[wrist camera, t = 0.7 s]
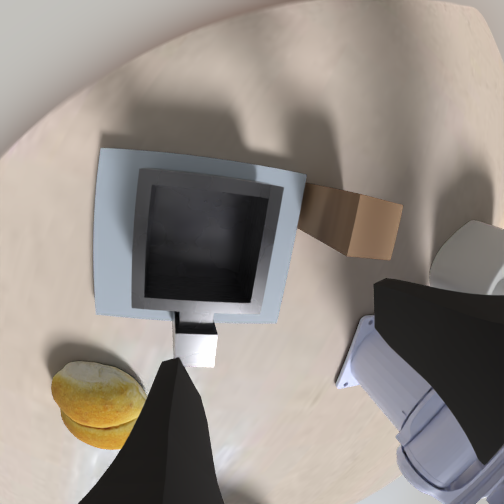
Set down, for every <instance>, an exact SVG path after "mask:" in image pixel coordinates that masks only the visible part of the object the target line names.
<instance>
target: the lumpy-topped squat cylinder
mask: <svg viewBox="0 0 504 504" xmlns="http://www.w3.org/2000/svg"><path fill="white" fill-rule="evenodd" d="M429 283H430V287H435V288H440V289H445V290H450V291H457V292H463V293H471V294H483V295H504V229H501V228H499V227H496V226H493V225H490V224H487V223H484V222H480V221H476V220H471V221H469V222H468V223H466V224H465V225H464V226H462V227H461V228H460V229H459V230H458V231H457V232H455V233H454V234H453V235H452V236H451V238H450V239H449V240H448V241H447V242H446V243H445V244H444V245H443V246H442V247H441V249H440V250H439V251H438V253H437V255H436V257H435V259H434V261H433V263H432V266H431V269H430V274H429Z"/></svg>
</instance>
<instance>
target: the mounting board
mask: <svg viewBox="0 0 504 504" xmlns="http://www.w3.org/2000/svg"><path fill="white" fill-rule="evenodd" d="M140 168H158V169H169V170H178V171H188V172H196V173H204V174H212V175H220V176H227V177H234V178H241V179H248V180H254V181H261V182H265V183H269V184H273V185H278V186H282V187H284V191H283V197H282V202H281V208H280V213H279V219H278V224H277V230H276V235H275V241H274V246H273V251H272V257H271V262H270V267H269V272H268V278H267V283H266V288H265V293H264V298H263V303H262V308H261V313H260V314H220V313H214V318H213V320H214V323H277V319H278V315H279V311H280V306H281V302H282V297H283V293H284V288H285V284H286V279H287V274H288V270H289V265H290V260H291V255H292V250H293V245H294V240H295V235H296V230H297V225H298V220H299V215H300V210H301V204H302V199H303V193H304V188H305V182H306V177H307V174H302V173H297V172H292V171H287V170H282V169H277V168H271V167H266V166H260V165H255V164H249V163H243V162H236V161H230V160H223V159H216V158H209V157H201V156H193V155H185V154H176V153H166V152H155V151H144V150H130V149H114V148H101V149H100V157H99V165H98V174H97V184H96V195H95V211H94V239H93V263H94V291H95V307H96V314H97V315H106V316H116V317H127V318H139V319H152V320H167V321H172V315H173V311H162V310H148V309H135V308H132V305H131V278H132V246H133V228H134V215H135V203H136V193H137V184H138V175H139V169H140Z"/></svg>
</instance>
